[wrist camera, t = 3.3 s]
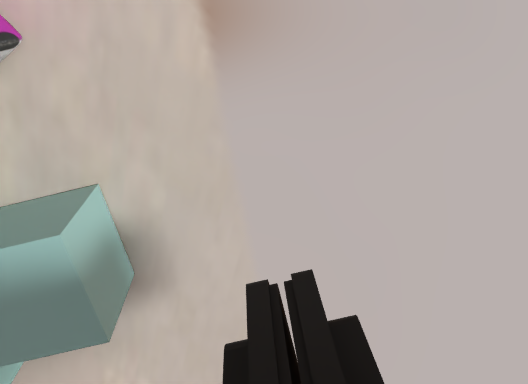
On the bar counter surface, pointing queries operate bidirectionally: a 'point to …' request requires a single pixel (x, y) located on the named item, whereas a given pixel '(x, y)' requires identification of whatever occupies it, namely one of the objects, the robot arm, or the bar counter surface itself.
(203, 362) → the bar counter surface
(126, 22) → the bar counter surface
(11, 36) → the candy bar box
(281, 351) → the robot arm
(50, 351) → the t block
